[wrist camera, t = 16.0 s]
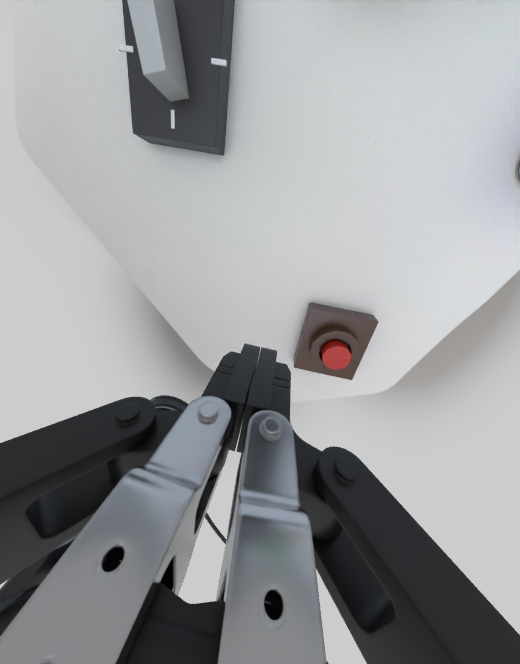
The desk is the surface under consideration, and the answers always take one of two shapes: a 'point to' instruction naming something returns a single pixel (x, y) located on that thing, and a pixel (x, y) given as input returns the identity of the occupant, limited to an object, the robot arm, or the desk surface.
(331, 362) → the power button
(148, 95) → the dial panel
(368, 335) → the button housing
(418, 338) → the desk surface
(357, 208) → the desk surface
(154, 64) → the dial
